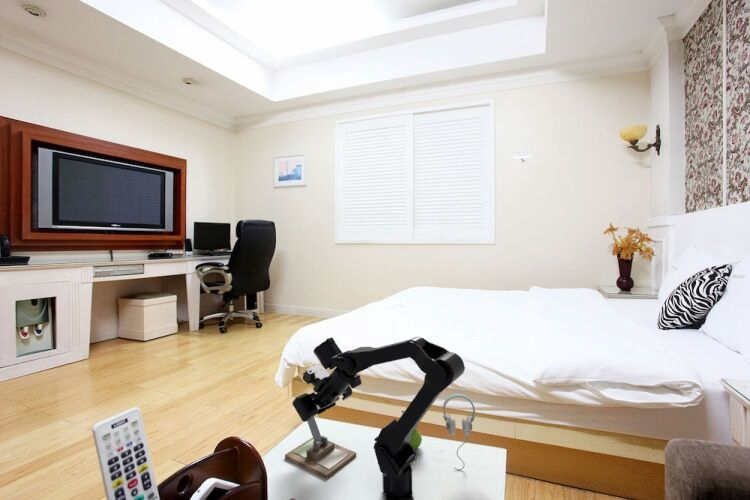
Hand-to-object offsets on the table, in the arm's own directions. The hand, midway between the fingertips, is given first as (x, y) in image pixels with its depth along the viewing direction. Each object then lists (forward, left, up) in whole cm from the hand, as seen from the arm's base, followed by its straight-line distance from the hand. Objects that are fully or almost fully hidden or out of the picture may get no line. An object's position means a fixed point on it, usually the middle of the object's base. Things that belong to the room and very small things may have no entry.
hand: (310, 413), depth 104 cm
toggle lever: (-3, +2, -8) cm, 9 cm away
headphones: (-40, +11, -12) cm, 43 cm away
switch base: (-3, +2, -11) cm, 12 cm away
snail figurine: (-29, 0, -12) cm, 31 cm away
